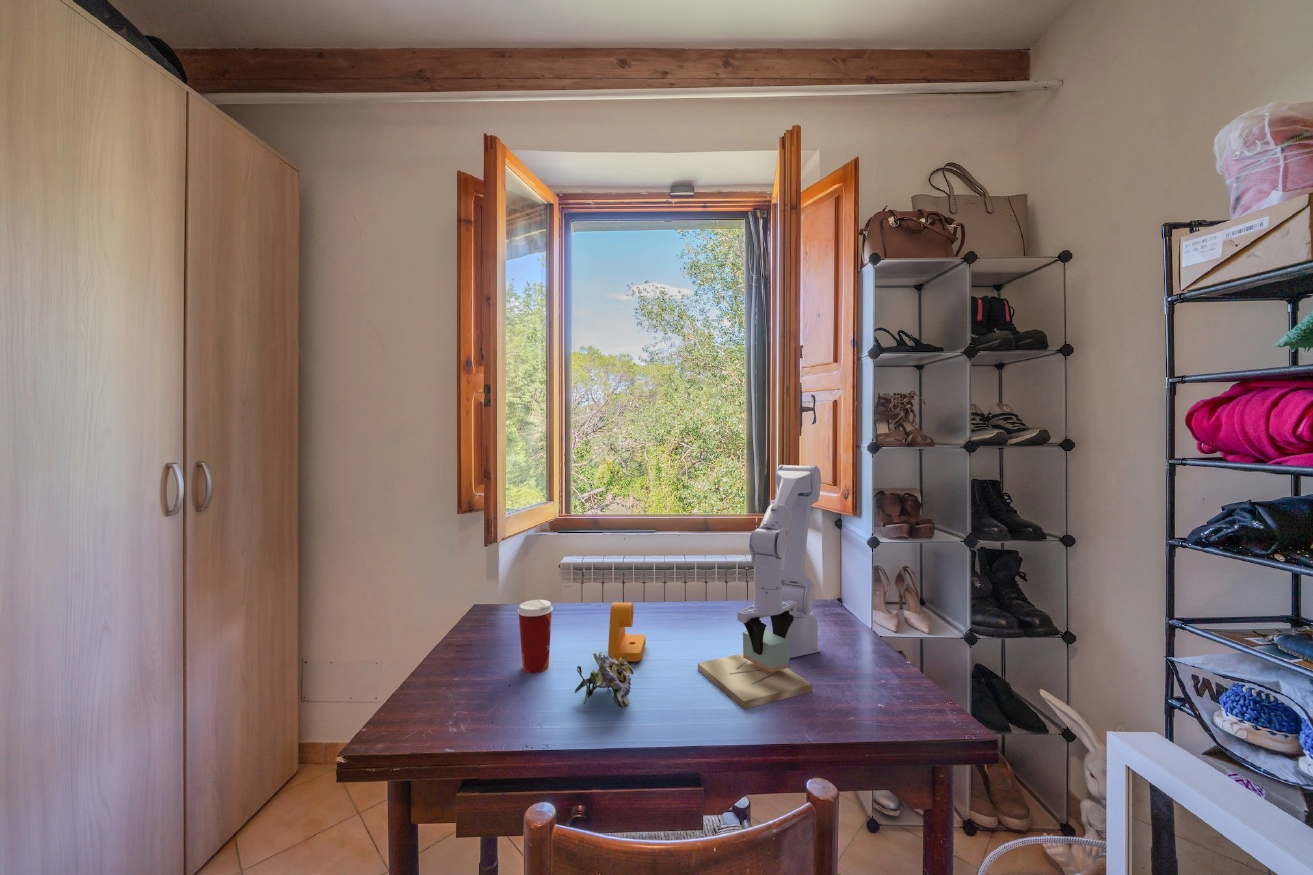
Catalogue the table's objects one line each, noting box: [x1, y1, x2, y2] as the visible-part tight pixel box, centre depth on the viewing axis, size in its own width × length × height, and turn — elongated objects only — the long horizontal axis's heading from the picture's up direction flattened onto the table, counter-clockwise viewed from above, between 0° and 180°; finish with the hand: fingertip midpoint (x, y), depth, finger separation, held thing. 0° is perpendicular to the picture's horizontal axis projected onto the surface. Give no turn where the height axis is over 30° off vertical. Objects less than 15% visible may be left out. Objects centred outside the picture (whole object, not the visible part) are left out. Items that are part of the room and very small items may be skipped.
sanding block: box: [742, 629, 791, 673], centre depth 112 cm, size 5×9×6 cm, turn 28°
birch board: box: [697, 653, 813, 710], centre depth 110 cm, size 16×18×2 cm
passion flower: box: [574, 651, 634, 709], centre depth 101 cm, size 11×11×12 cm
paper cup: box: [517, 599, 554, 674], centre depth 116 cm, size 8×8×14 cm
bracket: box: [607, 601, 647, 662], centre depth 123 cm, size 11×7×12 cm, turn 174°
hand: (768, 650), depth 111 cm, fingers closed on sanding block, 5 cm apart
